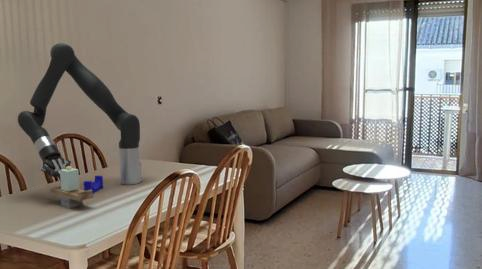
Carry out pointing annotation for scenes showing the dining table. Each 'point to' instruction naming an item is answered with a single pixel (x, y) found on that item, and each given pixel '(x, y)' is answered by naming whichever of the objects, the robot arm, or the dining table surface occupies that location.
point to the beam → (72, 196)
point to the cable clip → (94, 184)
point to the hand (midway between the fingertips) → (65, 182)
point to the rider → (69, 179)
